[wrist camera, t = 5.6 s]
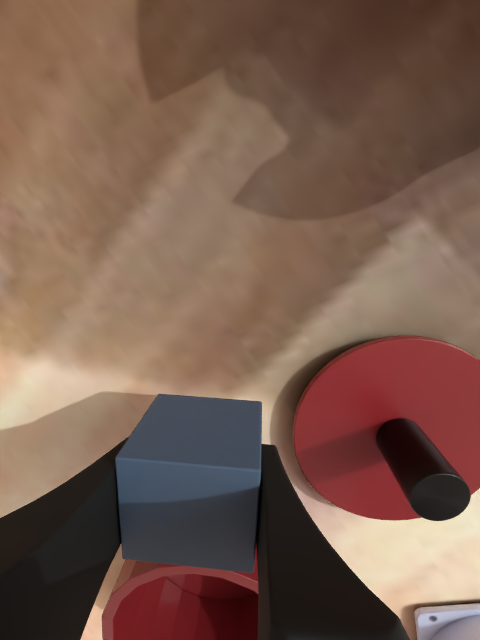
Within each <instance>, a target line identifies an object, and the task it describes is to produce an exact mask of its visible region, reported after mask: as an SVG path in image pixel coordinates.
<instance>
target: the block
mask: <svg viewBox="0 0 480 640" xmlns="http://www.w3.org/2000/svg"><path fill="white" fill-rule="evenodd" d="M261 433H262V402H260V401H247V400H233V399H220V398H207V397H194V396H180V395H167V394H158V396H157V397H156V399H155V400H154V402H153V403H152V405H151V406H150V407H149V409H148V410H147V412H146V413H145V415H144V416H143V418H142V419H141V421H140V422H139V424H138V425H137V427H136V428H135V429H134V431H133V432H132V434H131V435H130V437H129V438H128V440H127V441H126V443H125V444H124V446H123V447H122V449H121V450H120V451H119V453H118V454H117V456H116V458H115V464H116V478H117V491H118V504H119V517H120V530H121V544H122V557H123V559H127V560H137V561H146V562H155V563H164V564H173V565H182V566H191V567H200V568H209V569H218V570H227V571H236V572H245V573H253V572H254V565H255V551H256V536H257V522H258V508H259V493H260V479H261Z"/></svg>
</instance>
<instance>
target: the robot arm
mask: <svg viewBox="0 0 480 640" xmlns="http://www.w3.org/2000/svg"><path fill="white" fill-rule="evenodd" d="M129 437H130V436H129ZM129 437H128V438H129ZM128 438H126V439H125V440H124V441H122V442H121V443H120V444H118V445H117V446H116V447H114V448H113V449H112V450H110V451H109V452H108V453H106V454H105V455H104V456H102V457H101V458H100V459H98V460H97V461H96V462H94V463H93V464H92V465H90V466H89V467H87V468H86V469H84V470H83V471H81V472H80V473H78V474H77V475H75V476H74V477H73V478H71V479H70V480H68V481H67V482H65V483H64V484H62V485H60V486H59V487H57V488H55V489H54V490H52V491H51V492H49V493H47V494H45V495H44V496H42V497H40V498H38V499H37V500H35V501H33V502H31V503H29V504H27V505H25V506H23V507H21V508H19V509H17V510H16V511H14V512H12V513H10V514H8V515H6V516H4V517H2V518H0V640H80V639H81V636H82V634H83V631H84V628H85V626H86V623H87V620H88V618H89V615H90V612H91V610H92V607H93V605H94V602H95V600H96V597H97V595H98V592H99V590H100V587H101V585H102V582H103V580H104V578H105V575H106V573H107V571H108V569H109V567H110V564H111V562H112V560H113V558H114V556H115V554H116V552H117V550H118V548H119V546H120V544H121V530H120V517H119V504H118V491H117V478H116V464H115V458H116V456H117V454H118V453H119V451H120V450H121V449H122V447H123V446H124V444H125V443H126V441H127V440H128ZM256 548H257V567H258V596H259V598H258V640H410V639H409V637H408V635H407V633H406V631H405V629H404V627H403V625H402V623H401V621H400V619H399V617H398V616H397V615H396V614H395V613H394V612H393V611H391V610H390V609H389V608H388V607H387V606H386V605H385V604H384V603H383V602H382V601H381V600H380V599H379V598H378V597H377V596H376V595H375V594H374V593H373V592H372V591H371V590H369V589H368V588H367V586H366V585H365V584H364V583H363V582H362V581H361V580H360V579H359V578H358V577H357V576H356V575H355V574H354V572H353V571H352V570H351V569H350V568H349V567H348V565H347V564H346V563H345V562H344V561H343V559H342V558H341V557H340V556H339V555H338V553H337V552H336V551H335V550H334V549H333V547H332V546H331V545H330V544H329V542H328V541H327V540H326V538H325V537H324V536H323V534H322V533H321V532H320V530H319V529H318V527H317V526H316V524H315V523H314V521H313V520H312V518H311V517H310V515H309V514H308V512H307V511H306V509H305V507H304V506H303V504H302V502H301V500H300V499H299V497H298V495H297V493H296V491H295V490H294V488H293V486H292V484H291V482H290V480H289V478H288V476H287V473H286V471H285V469H284V467H283V464H282V462H281V459H280V456H279V453H278V450H277V447H276V446H275V445H267V444H261V479H260V493H259V508H258V522H257V536H256ZM414 615H415V624H416V632H417V640H480V603H476V604H462V605H448V606H434V607H421V608H418V609H416V610H415V612H414Z"/></svg>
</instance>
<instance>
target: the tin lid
mask: <svg viewBox="0 0 480 640" xmlns="http://www.w3.org/2000/svg"><path fill="white" fill-rule="evenodd" d="M293 441H294V449H295V453H296V457H297V460H298V463H299V465H300V468H301V470H302V472H303V474H304V475H305V477H306V478H307V480H308V481H309V482H310V484H311V485H312V486H313V487H314V488H315V489H316V491H318V492H319V493H320V494H321V495H322V496H323V497H324V498H326V499H327V500H328V501H330V502H331V503H333V504H334V505H336V506H338V507H340V508H342V509H344V510H346V511H348V512H351V513H354V514H356V515H360V516H364V517H368V518H373V519H380V520H409V519H415V518H421V517H423V518H425V519H428V520H432V521H443V520H448V519H451V518H454V517H456V516H458V515H459V514H460V513H462V512H463V511H464V510H465V509H466V507H467V506H468V504H469V502H470V498H471V495H472V494H473V493H474V492H476V491H477V490H478V489H479V488H480V360H478V359H477V358H476V357H474V356H473V355H471V354H469V353H468V352H466V351H464V350H462V349H461V348H459V347H457V346H455V345H452V344H450V343H447V342H444V341H441V340H437V339H433V338H429V337H421V336H393V337H385V338H380V339H376V340H372V341H369V342H366V343H363V344H360V345H358V346H355V347H353V348H351V349H349V350H347V351H345V352H343V353H342V354H340V355H339V356H337V357H336V358H334V359H333V360H331V361H330V362H329V363H328V364H327V365H325V366H324V367H323V368H322V369H321V370H320V371H319V372H318V373H317V374H316V375H315V377H314V378H313V379H312V380H311V381H310V383H309V384H308V386H307V387H306V389H305V390H304V392H303V394H302V396H301V398H300V400H299V402H298V405H297V408H296V411H295V416H294V422H293Z"/></svg>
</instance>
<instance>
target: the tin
mask: <svg viewBox="0 0 480 640" xmlns="http://www.w3.org/2000/svg"><path fill="white" fill-rule="evenodd" d="M258 598H259V596H258V567H257V548H256V551H255V565H254V572H253V573H245V572H236V571H227V570H218V569H209V568H200V567H191V566H182V565H173V564H164V563H155V562H146V561H137V560H127V559H126V560H125V563H124V565H123V567H122V570H121V572H120V574H119V577H118V579H117V581H116V583H115V586H114V588H113V590H112V593H111V595H110V597H109V600H108V602H107V604H106V607H105V609H104V611H103V614H102V637H103V640H258Z"/></svg>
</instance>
